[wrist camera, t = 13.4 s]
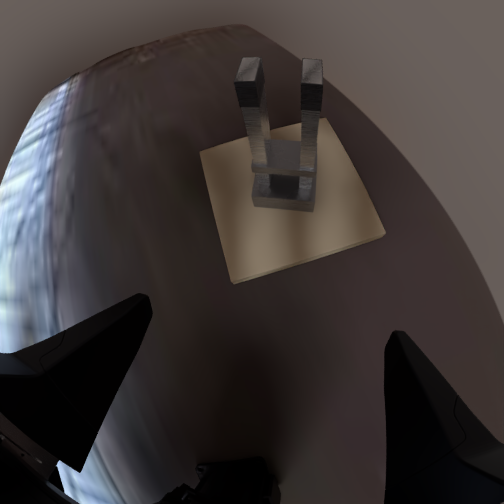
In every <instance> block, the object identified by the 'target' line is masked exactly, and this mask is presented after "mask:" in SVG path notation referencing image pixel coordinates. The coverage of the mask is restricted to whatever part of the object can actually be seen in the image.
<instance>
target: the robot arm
mask: <svg viewBox="0 0 504 504" xmlns="http://www.w3.org/2000/svg"><path fill="white" fill-rule="evenodd" d="M152 314H153V311H152V307H151V303H150V299H149V297H148V295H145V294H141V293H138V294H135V295H133V296H131V297H129V298H127V299H125V300H123V301H121V302H119V303H117V304H115V305H113V306H111V307H109V308H107V309H105V310H103V311H101V312H99V313H97V314H95V315H93V316H91V317H90V318H88V319H86V320H84V321H82V322H80V323H78V324H76V325H74V326H72V327H70V328H68V329H66V330H64V331H62V332H60V333H58V334H56V335H54V336H52V337H50V338H48V339H45V340H43V341H41V342H39V343H36V344H34V345H31V346H29V347H27V348H24V349H22V350H19V351H17V352H14V353H0V504H79V503H78V502H76V501H75V500H73V499H72V498H70V497H69V496H68V495H66V494H65V493H64V492H65V491H64V488H63V485H62V482H61V478H60V475H59V471H58V468H57V466H56V465H57V463H58V461H59V460H60V461H62V462H63V463H65V464H66V465H68V466H69V467H71V468H73V469H74V470H76V471H77V472H79V473H80V472H81V471H82V469H83V466H84V464H85V461H86V459H87V457H88V454H89V452H90V450H91V447H92V445H93V443H94V441H95V438H96V436H97V434H98V431H99V429H100V427H101V425H102V423H103V421H104V418H105V416H106V414H107V412H108V410H109V408H110V406H111V404H112V402H113V399H114V397H115V395H116V393H117V391H118V389H119V387H120V385H121V383H122V381H123V379H124V377H125V375H126V373H127V371H128V369H129V367H130V365H131V364H132V362H133V360H134V358H135V356H136V354H137V352H138V350H139V348H140V345H141V343H142V341H143V338H144V336H145V333H146V331H147V328H148V326H149V323H150V321H151V318H152ZM384 396H385V412H386V485H385V489H386V490H385V498H384V504H504V444H503V443H501V442H499V441H498V440H497V439H496V438H495V437H494V436H493V435H492V434H491V432H490V431H489V430H488V429H487V428H486V427H485V426H484V425H483V424H482V423H481V421H480V420H479V419H478V418H477V417H476V416H475V415H474V414H473V413H472V411H471V410H470V409H469V408H468V407H467V405H466V404H465V403H464V402H463V400H462V399H461V398H460V396H459V395H457V393H456V392H455V390H454V389H453V388H452V387H451V385H450V384H449V383H448V382H447V380H446V379H445V378H444V377H443V375H442V374H441V373H440V372H439V371H438V369H437V368H436V367H435V366H434V365H433V363H432V362H431V361H430V360H429V359H428V358H427V356H426V355H425V354H424V353H423V352H422V351H421V349H420V348H419V347H418V346H417V345H416V344H415V343H414V341H413V340H412V339H411V338H410V337H409V336H408V335H407V334H406V332H404V331H398V330H395V331H393V332H392V334H391V336H390V338H389V340H388V342H387V344H386V346H385V351H384ZM257 461H261V462H262V463H257ZM199 468H202V469H203V470H201V469H199ZM195 469H196V472H197V475H198V477H199V479H200V482H199V484H198V485H197V487H196V488H195V490H194V489H192V488H190V486H188V485H186V484H184V483H183V484H182V485H181V486H180V487H176V488H175V489H174V490H173V491H172V492H171V493H167V494H166V495H165V496H164V497H163V498H162V499H161V500H160V501H159V502H157V503H154V504H280V496H281V493H280V490H279V487H278V484H277V482H276V479H275V476H274V475H273V474H270V473H269V471H268V468H267V465H266V462H265V460H264V458H262V457H254V458H248V459H241V460H234V461H226V462H217V463H206V464H198V465H197V466H196V468H195Z"/></svg>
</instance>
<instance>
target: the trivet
mask: <svg viewBox="0 0 504 504" xmlns="http://www.w3.org/2000/svg"><path fill="white" fill-rule="evenodd" d="M270 136H271V139H277V140H291V141H301V123H298V124H293V125H289V126H285V127H281V128H277V129H273V130H270ZM199 153H200V157H201V161H202V166H203V170H204V174H205V179H206V183H207V187H208V191H209V196H210V200H211V204H212V208H213V212H214V216H215V220H216V224H217V228H218V232H219V236H220V240H221V244H222V248H223V252H224V256H225V260H226V264H227V267H228V271H229V275H230V279H231V282H232V283H233V284H237V283H240V282H244V281H247V280H250V279H254V278H257V277H260V276H263V275H267V274H270V273H273V272H277V271H280V270H283V269H286V268H289V267H293V266H296V265H299V264H302V263H305V262H309V261H312V260H315V259H318V258H321V257H324V256H327V255H330V254H333V253H337V252H340V251H343V250H346V249H349V248H352V247H355V246H358V245H361V244H364V243H367V242H370V241H373V240H376V239H379V238H382V237H383V235H384V234H385V233H386V232H385V230H384V228H383V225H382V223H381V221H380V219H379V216H378V214H377V212H376V210H375V208H374V205H373V203H372V201H371V199H370V197H369V195H368V193H367V191H366V189H365V187H364V185H363V183H362V181H361V179H360V177H359V175H358V173H357V171H356V169H355V167H354V165H353V164H352V162H351V160H350V158H349V156H348V154H347V153H346V151H345V149H344V147H343V146H342V144H341V142H340V140H339V139H338V137H337V135H336V134H335V132H334V130H333V129H332V127H331V125H330V124H329V122H328V121H327V119H326V118H321V119H319V126H318V135H317V155H318V156H317V178H316V196H315V205H314V211H313V212H304V211H294V210H284V209H274V208H263V207H254V204H253V201H252V197H251V195H252V189H253V183H254V178H255V173H252V169H251V164H252V159H253V158H252V153H251V149H250V144H249V140H248V136H247V137H244V138H241V139H237V140H234V141H231V142H228V143H224V144H221V145H218V146H215V147H212V148H209V149H206V150H203V151H200V152H199Z"/></svg>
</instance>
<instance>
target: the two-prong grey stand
mask: <svg viewBox="0 0 504 504" xmlns="http://www.w3.org/2000/svg"><path fill="white" fill-rule="evenodd" d="M322 68H323V67H322V60H317V59H305V58H303V59H302V75H301V110H302V123H301V141H291V140H277V139H271V136H270V127H269V119H268V110H267V102H266V95H265V87H264V83H265V80H264V72H263V65H262V58H261V57H242V60H241V62H240V65H239V68H238V71H237V74H236V77H235V80H234V84H235V89H236V93H237V97H238V101H239V105H240V107H241V109H242V113H243V118H244V122H245V126H246V131H247V135H248V140H249V144H250V149H251V153H252V158H253V159H252V164H251V169H252V173H255V178H254V183H253V189H252V195H251V197H252V201H253V204H254V207H263V208H274V209H284V210H294V211H304V212H313V211H314V205H315V196H316V178H317V156H318V155H317V135H318V126H319V115H320V112H321V104H322V93H323V69H322Z"/></svg>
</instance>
